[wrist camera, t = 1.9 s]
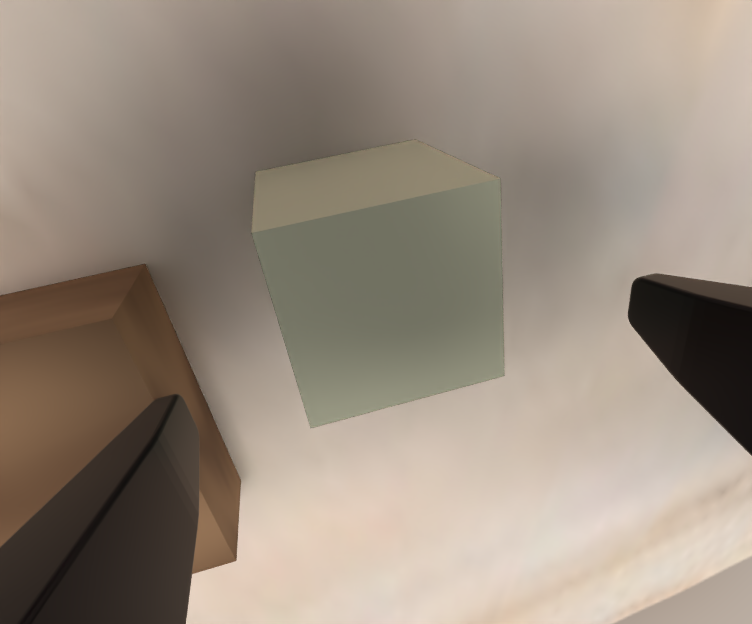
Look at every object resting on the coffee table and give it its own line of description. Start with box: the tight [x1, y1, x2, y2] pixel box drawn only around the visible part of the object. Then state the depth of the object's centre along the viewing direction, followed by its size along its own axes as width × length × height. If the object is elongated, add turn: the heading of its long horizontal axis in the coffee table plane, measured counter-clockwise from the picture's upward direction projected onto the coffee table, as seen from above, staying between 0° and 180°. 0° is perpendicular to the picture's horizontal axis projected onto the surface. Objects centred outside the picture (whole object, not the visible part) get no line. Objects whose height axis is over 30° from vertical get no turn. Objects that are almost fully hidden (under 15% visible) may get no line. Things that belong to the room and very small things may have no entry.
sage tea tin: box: [251, 139, 504, 428], centre depth 13 cm, size 5×5×6 cm
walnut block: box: [0, 264, 241, 574], centre depth 15 cm, size 10×10×4 cm
